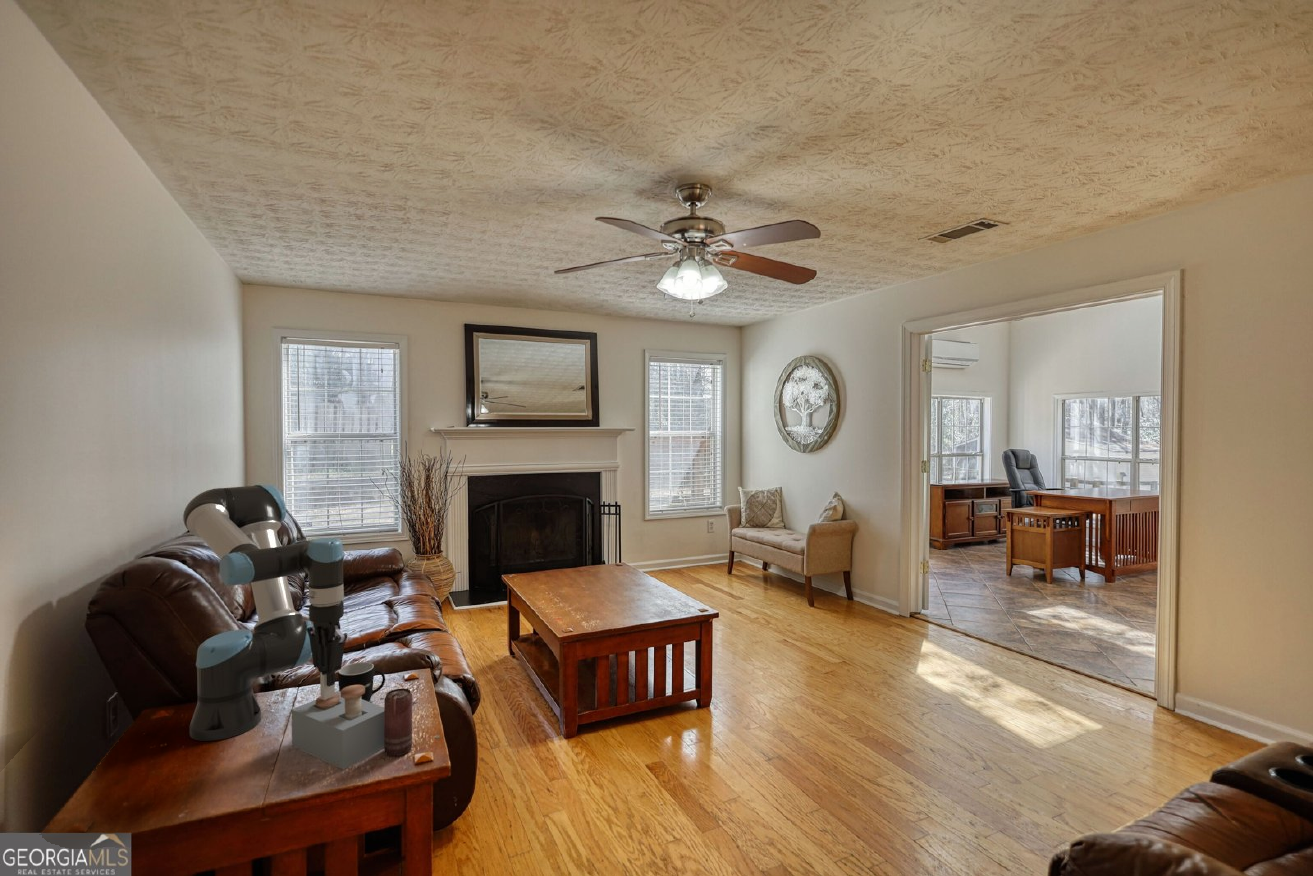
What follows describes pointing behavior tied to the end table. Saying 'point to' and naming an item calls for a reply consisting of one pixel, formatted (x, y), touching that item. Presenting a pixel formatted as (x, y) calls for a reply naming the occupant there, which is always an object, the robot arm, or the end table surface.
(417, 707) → the end table surface
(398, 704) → the can
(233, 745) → the end table surface
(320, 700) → the peg
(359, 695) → the peg
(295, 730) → the socket block
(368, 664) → the mug
